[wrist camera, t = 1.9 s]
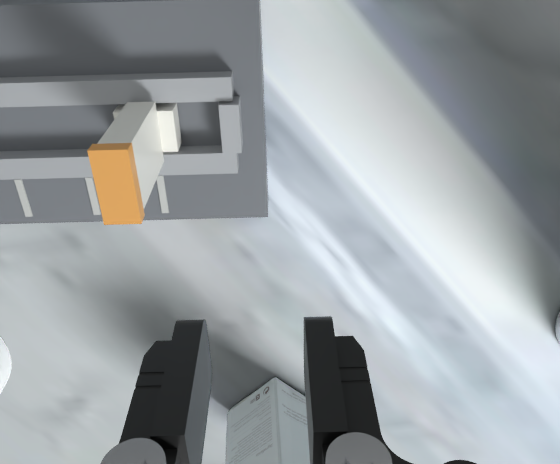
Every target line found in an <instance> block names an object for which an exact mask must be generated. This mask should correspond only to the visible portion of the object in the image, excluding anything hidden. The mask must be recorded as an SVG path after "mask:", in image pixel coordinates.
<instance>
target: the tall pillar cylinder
mask: <svg viewBox="0 0 560 464" xmlns="http://www.w3.org/2000/svg"><path fill="white" fill-rule="evenodd" d="M11 368H12V361H11V356H10V352H9V350H8V348H7V346H6V344H5V342H4V341H3V339H2V338H1V336H0V394H1V392H2V390H3V388H4V386H5V385H6V383H7V381H8V379H9V377H10V374H11Z"/></svg>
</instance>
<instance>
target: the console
mask: <svg viewBox="0 0 560 464" xmlns="http://www.w3.org/2000/svg"><path fill="white" fill-rule="evenodd" d="M127 102H155V103H177V109H178V117H179V125H180V132H181V140H182V143H181V146H180V148H179V151H178V152H163V157H164V163H163V165H162V167H161V170H160V172H159V175H158V177H157V179H156V182H155V184H154V186H153V189H152V191H151V194H150V196H149V198H148V201H147V203H146V206H145V208H144V214H145V216H144V219H143V220H169V219H206V218H244V217H268V185H267V160H266V135H265V110H264V85H263V60H262V35H261V10H260V0H0V224H19V223H57V222H94V221H103V218H102V213H101V209H100V204H99V200H98V196H97V191H96V187H95V183H94V178H93V174H92V169H91V165H90V161H89V156H88V152H87V150H88V149H89V148H90V146H91V145H92V144H97V143H98V142H99V140H100V139H101V138H102V136H103V135H104V133H105V132H106V131H107V129H108V128H109V126H110V125H111V124H112V122H113V121H114V116H113V112H114V110H115V109H116V108H117V106H118V105H119V104H126V103H127Z"/></svg>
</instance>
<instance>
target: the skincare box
mask: <svg viewBox="0 0 560 464" xmlns="http://www.w3.org/2000/svg"><path fill="white" fill-rule="evenodd" d="M226 464H310V455H309V440H308V425H307V410H306V397H305V396H304V395H302V394H301V393H299V392H298V391H296V390H294V389H293V388H291V387H290V386H288V385H287V384H285V383H284V382H282V381H281V380H279V379H278V378H276V377H275V378H273V379H271V380H270V381H268V382H267V383H266V384H265V385H263V386H262V387H261V388H259V389H258V390H256V391H255V392H254V393H252V394H251V395H249V396H248V397H246V398H245V399H243V400H242V401H240V402H239V403H238V404H236V405H235V406H234V407H232V408H231V409H230V410H229V413H228V414H227V433H226Z"/></svg>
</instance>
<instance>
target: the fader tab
mask: <svg viewBox="0 0 560 464" xmlns="http://www.w3.org/2000/svg"><path fill="white" fill-rule="evenodd" d="M113 116H114V121H113V122H112V124H111V125H110V126H109V128H108V129H107V131H106V132H105V133H104V135H103V136H102V138H101V139H100V140H99V142H98V143H97V144H92V145H91V146H90V148H89V149H88V150H87V152H88V156H89V161H90V165H91V169H92V174H93V178H94V183H95V187H96V191H97V196H98V200H99V204H100V209H101V213H102V218H103V222H104V225H111V224H142V221H143V219H144V216H145V214H144V208H145V206H146V203H147V201H148V198H149V196H150V194H151V191H152V189H153V186H154V184H155V182H156V179H157V177H158V175H159V172H160V170H161V167H162V165H163V163H164V157H163V152H178V151H179V148H180V146H181V143H182V140H181V132H180V125H179V117H178V109H177V103H155V102H127V103H126V104H119V105H118V106H117V108H116V109H115V110H114V112H113Z"/></svg>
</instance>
